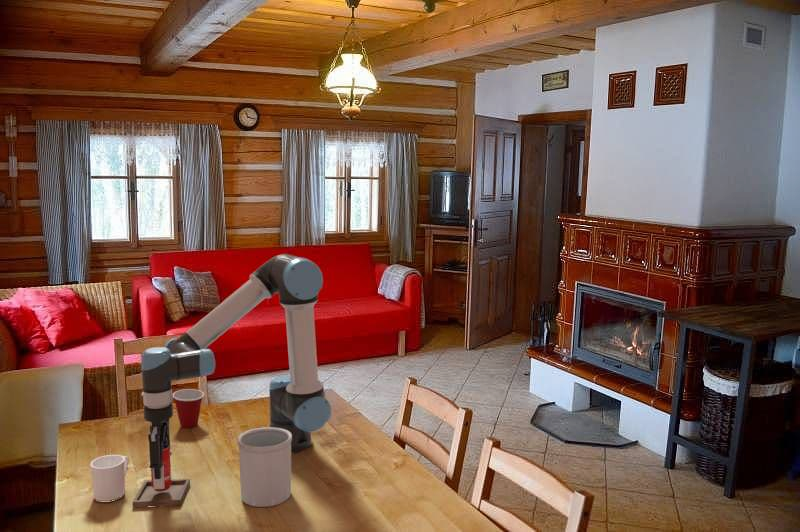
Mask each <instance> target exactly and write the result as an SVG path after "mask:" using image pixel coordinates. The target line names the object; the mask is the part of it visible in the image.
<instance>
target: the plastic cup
mask: <svg viewBox="0 0 800 532" xmlns="http://www.w3.org/2000/svg"><path fill="white" fill-rule="evenodd" d="M204 396H205V392H203V391H202V390H199V389H194V388H185V389H179V390H176V391H174V392H172V399H173V400H174V403H175V408H176V411H177V412H176V413H177V417H178V419H179V421H178V422H179V424H180V428H182V427H183V428H182V429H186V428H188V429H194V428H196V427H197V426H198V424H199V418H200V414H201V413H200V412H201V407H202V406H201V405H202V402H203V398H204ZM193 427H194V428H193Z"/></svg>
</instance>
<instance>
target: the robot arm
mask: <svg viewBox="0 0 800 532" xmlns="http://www.w3.org/2000/svg"><path fill="white" fill-rule="evenodd" d="M323 284H324V278H323V272H322V270H321V269H320V267H319V265H317V264H316V263H315V262H313V261H312V260H310V259H308V258H305V257H299V256H295V255H292V254H289V253H282V254H279V255H276V256H274V257H272V258H269V260H267V261H266V262H264V263H262V265H261V266H259V267H258V268H257V269H256V270H255V271H253V272H252V273H251V274H249V280H247V281H246V282H245V283H243V284H242V285H241V286H240V287H239V288H238V289H236V290H235V291H233V293H232V294H230V295H229V296H228V297H227V298H225V299H224V300H223V301H222V302H221V303H220V304H218V305H217V306H216V307H215V308H214V309H213V310H211V311H210V312H208V314H207V315H205V316H204V317H203V318H201V319H200V320H199V321H198V322H196V324H194V325H192V327H190V328H189V329H188V330H187V331H185V332H184V333H183V334H181V335H180V336H179V337H173V338H171V339H169V340H168V341H166V343H165V344H164V346H159V347H158V346H157V347H156V346H155V347H150V348H147V349H145V350H144V351H142V353H141V362H140V363H141V366H140V368H141V383H142V392H141V393H140V396H141V397H142V398H143V405H144V406H143V418H144V420H145V421H147V422H150V423H151V425H150V426H149V434H148V435H147V438H148V443H149V445H148V446H149V448H148V449H149V450H148V451H149V466H148V467H149V469H151V468H153V484H154V489H164V488H165V487H164V466H162V450H163V444H167V445H168V446H169V448H170V449H171V438H170V437H171V436H170V419H172V417H173V415H174V410H173V409H174V408H173V403H172V402H173V390H172V388H173V387H172V386H173V385H172V384H173V383H172V382H177V381H181V380H187V379H193V378H194V379H195V378H200V377H201V378H203V377H206V376H211V375H212V374H214V372H215V369H216V359H215V355H214V354H215V353H214V352H213V351H212V349H210V348H208V347H209V346H210V345H211V344H212V343H214V342H215V341H216V340H218V338H219V337H220V336H222V335H223V334H224V333H226V332H227V331H228V330H229V329H230V328H232V326H234V325H235V324H236V323H237V322H239V321H240V320H241V319H242V318H243V317H245V316H246V315H247V314H248V313H249V312H251V311H252V310H253V309H254V308H255V307H256V306H258V305H259V304H260V303H261V302H262V301H264V300H265V299H271V298H273V296H275V295H276V294H278V298H279V300H278V301H279V304H280V305H281V306H282V307H283V308H284V310H285V311H284V313H285V323H286V324H285V325H286V337H287V339H286V340H287V352H288V353H287V354H288V365H289V374H288V375H283V376H277V377H274V378H273V379H271V380H270V382H269V389H268V391H269V415H270V417H269V419H270V420H269V421H270V423H269V426H268V427H273V428H281V429H285V430H287V431H289V432H290V433H291V434H292V441H291V454H292V453H297V452H298V453H299V452H302V451H304V450H307V449H308V448H310V446H311V445H312V434H311V433H312V432H316V431H318V430H320V429H321V428H323V427H325V425H326V423H328V421H329V419H330V417H331V413H332V407H331V404H330V403H329V400H328V399H327V398H326V397H325V398H324V392H325V388H324V383H323V382H322V381H320V380H319V374H318V359H317V358H318V357H317V343H316V341H317V339H316V325H315V311H314V306H315V305H316V304H317V302H318V301H319V297H318V296H319V293H320V291H321V290H322V288H323ZM172 454H173V453H172V451H170V456H172Z"/></svg>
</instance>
